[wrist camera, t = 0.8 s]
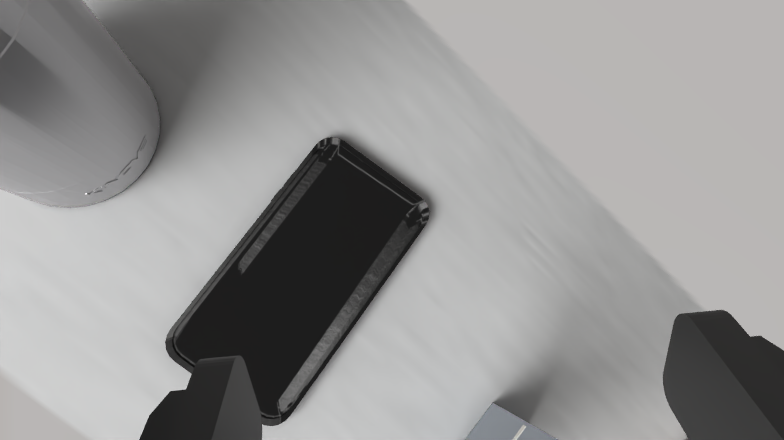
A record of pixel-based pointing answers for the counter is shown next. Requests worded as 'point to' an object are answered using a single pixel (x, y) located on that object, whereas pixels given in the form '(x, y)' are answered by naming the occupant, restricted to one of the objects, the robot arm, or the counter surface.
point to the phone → (302, 275)
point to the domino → (505, 427)
